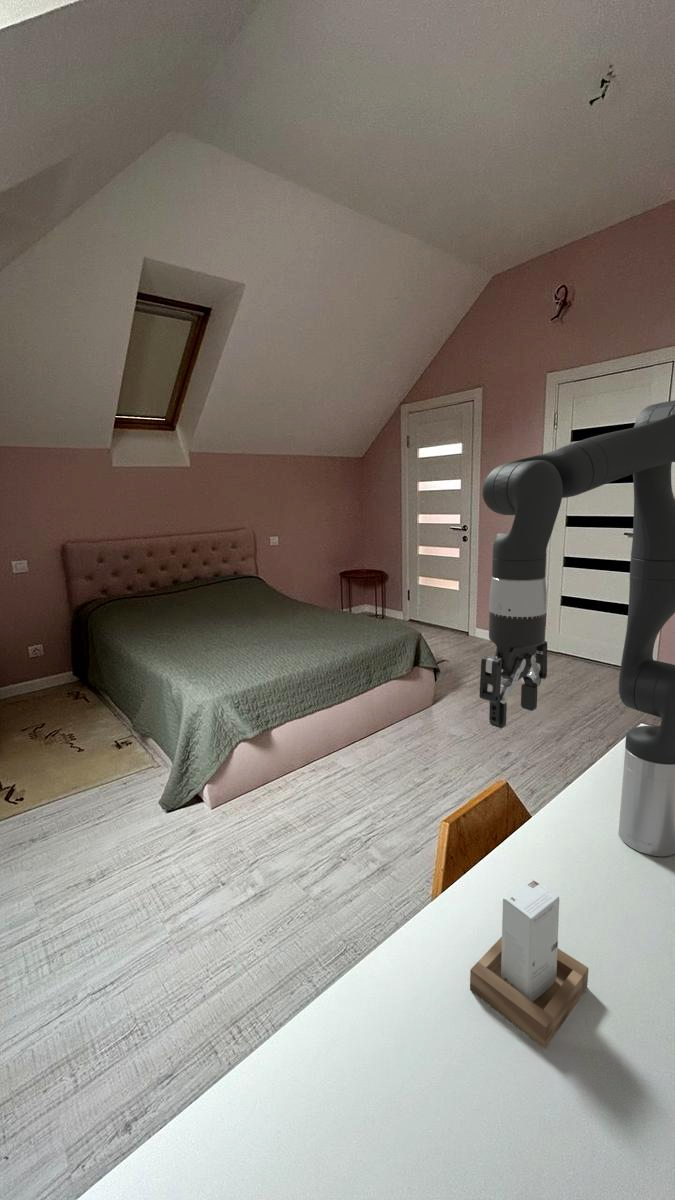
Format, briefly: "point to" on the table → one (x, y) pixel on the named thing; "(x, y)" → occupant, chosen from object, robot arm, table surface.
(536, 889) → the skincare box
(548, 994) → the wooden tray
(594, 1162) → the table surface
